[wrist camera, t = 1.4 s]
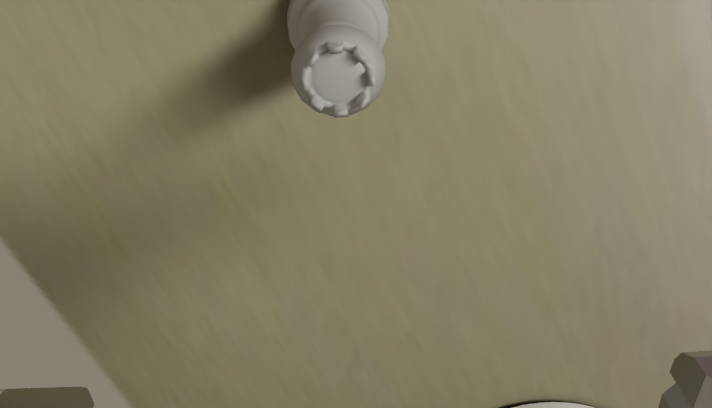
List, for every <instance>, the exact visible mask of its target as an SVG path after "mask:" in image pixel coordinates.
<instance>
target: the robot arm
mask: <svg viewBox="0 0 712 408" xmlns="http://www.w3.org/2000/svg"><path fill="white" fill-rule="evenodd" d="M670 373H671V375H672V377H673V378H674V380H675V382H676V383H675V384H674V385H673V386H672V387H670V388H669V389H668V390H667V391H666V392H664V393H663V394H662V397H661V400H660V404H659V408H712V351H698V352H683V353H681V354H680V355H679V356H677V357H676V358H675V359H674V362H673V365H672V367H671V370H670ZM93 407H94V402H93V400H92V398H91V396H90V393H89V391H88V389H87V388H84V387H60V388H58V387H57V388H24V389H6V390H0V408H93ZM512 408H594V407H590V406H586V405H581V404H575V403H566V402H543V403H533V404H526V405H521V406H516V407H512Z"/></svg>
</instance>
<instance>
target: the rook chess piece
mask: <svg viewBox="0 0 712 408" xmlns="http://www.w3.org/2000/svg"><path fill="white" fill-rule="evenodd" d="M287 26H288V34H289V40H290V42H291V44H292V46H293V48H294V49H295V52H294V55H293V59H292V62H291V66H290V68H291V76H292V84H293V86H294V88H295V89H296V91H297V93H298V95H299V97H300V98H301V100H302V101H303V102H305V103H306V104H307V105H309V106H310V107H311V108H312V109H314V110H315V111H317V112H319V113H324V114H327V115H330V116H334V117H348V115H352V114H354V113H357V112H359V111H361V110H363V109H365V108H367V107H368V106H369V105H370V104H371V103H372V102H373V101H374V100H375V99H376V98H377V97H378V96H379V95H380V92H381V89H382V87H383V84H384V81H385V79H386V68H385V58H384V56H383V54H382V51H383V49H384V46H385V43H386V41H387V38H388V35H389V28H390V25H389V6H388V4H387V2H386V0H290V4H289V7H288V11H287Z"/></svg>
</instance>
